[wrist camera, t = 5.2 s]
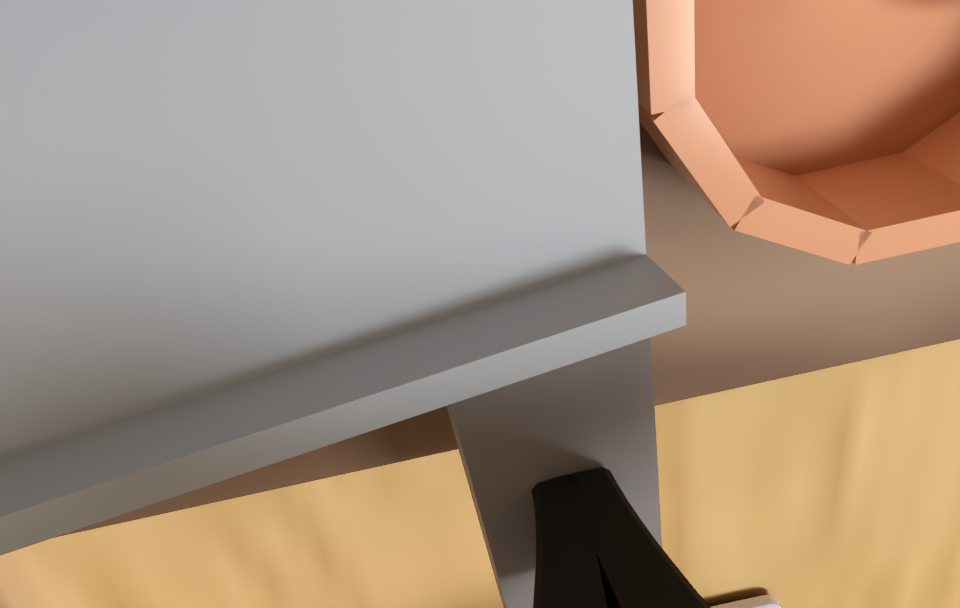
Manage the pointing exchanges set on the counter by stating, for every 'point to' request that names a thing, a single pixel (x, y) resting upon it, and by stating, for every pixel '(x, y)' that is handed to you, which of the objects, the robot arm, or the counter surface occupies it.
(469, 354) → the lever
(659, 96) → the orange bowl
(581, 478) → the robot arm
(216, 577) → the counter surface
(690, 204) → the base
